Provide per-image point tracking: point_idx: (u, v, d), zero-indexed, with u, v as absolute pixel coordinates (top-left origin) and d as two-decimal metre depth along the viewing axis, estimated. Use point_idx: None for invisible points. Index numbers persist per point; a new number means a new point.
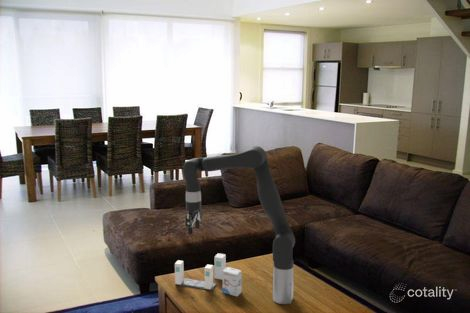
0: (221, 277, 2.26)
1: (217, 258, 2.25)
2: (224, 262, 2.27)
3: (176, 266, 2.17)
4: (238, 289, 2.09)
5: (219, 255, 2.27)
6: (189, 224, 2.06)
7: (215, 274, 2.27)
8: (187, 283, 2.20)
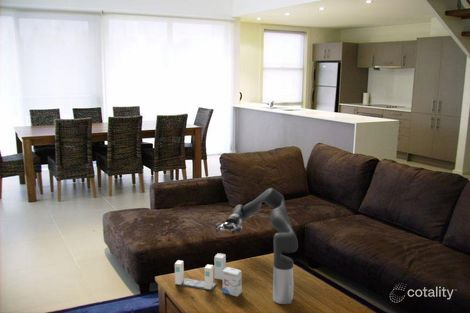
0: (221, 277, 2.26)
1: (217, 258, 2.25)
2: (224, 262, 2.27)
3: (176, 266, 2.17)
4: (238, 289, 2.09)
5: (219, 255, 2.27)
6: (216, 225, 2.40)
7: (215, 274, 2.27)
8: (187, 283, 2.20)
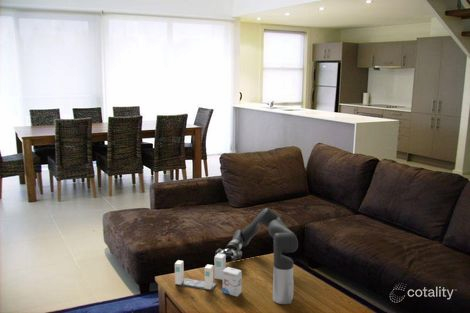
0: (221, 277, 2.26)
1: (217, 258, 2.25)
2: (224, 262, 2.27)
3: (176, 266, 2.17)
4: (238, 289, 2.09)
5: (219, 255, 2.27)
6: (216, 251, 2.42)
7: (215, 274, 2.27)
8: (187, 283, 2.20)
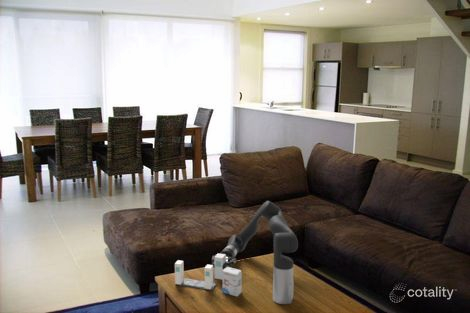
0: (221, 277, 2.26)
1: (217, 258, 2.25)
2: (224, 262, 2.27)
3: (176, 266, 2.17)
4: (238, 289, 2.09)
5: (219, 255, 2.27)
6: (212, 259, 2.32)
7: (215, 274, 2.27)
8: (187, 283, 2.20)
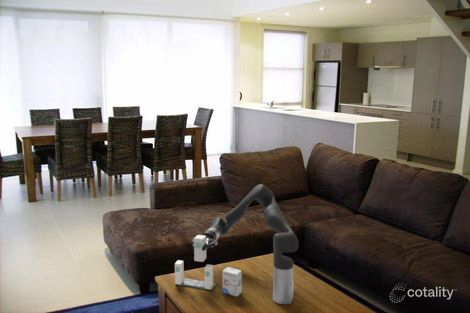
0: (201, 259, 2.17)
1: (197, 239, 2.16)
2: (204, 244, 2.18)
3: (176, 266, 2.17)
4: (238, 289, 2.09)
5: (199, 236, 2.18)
6: (192, 241, 2.23)
7: (195, 256, 2.18)
8: (187, 283, 2.20)
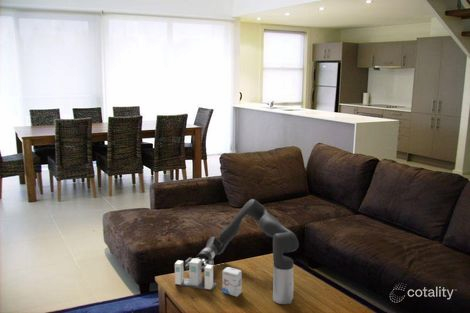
0: (196, 283, 2.17)
1: (192, 263, 2.16)
2: (200, 267, 2.19)
3: (176, 266, 2.17)
4: (238, 289, 2.09)
5: (194, 260, 2.18)
6: (185, 261, 2.24)
7: (190, 280, 2.18)
8: (187, 283, 2.20)
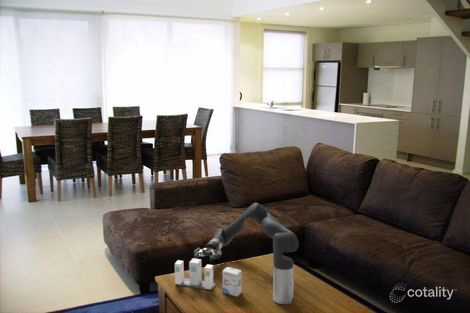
0: (196, 283, 2.17)
1: (192, 263, 2.16)
2: (200, 267, 2.19)
3: (176, 266, 2.17)
4: (238, 289, 2.09)
5: (194, 260, 2.18)
6: (194, 251, 2.35)
7: (190, 280, 2.18)
8: (187, 283, 2.20)
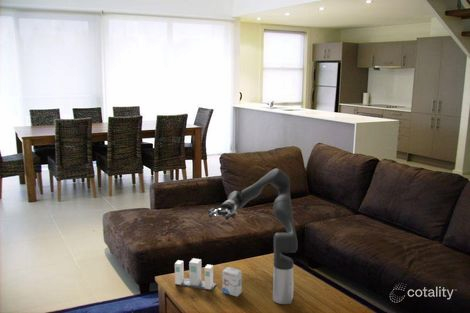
0: (196, 283, 2.17)
1: (192, 263, 2.16)
2: (200, 267, 2.19)
3: (176, 266, 2.17)
4: (238, 289, 2.09)
5: (194, 260, 2.18)
6: (209, 210, 2.28)
7: (190, 280, 2.18)
8: (187, 283, 2.20)
